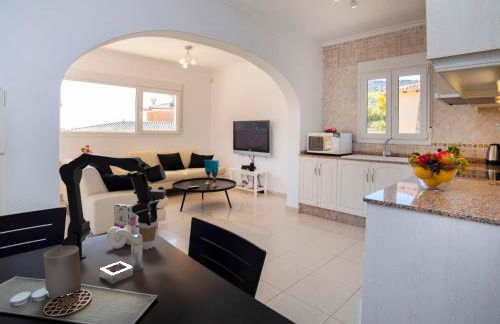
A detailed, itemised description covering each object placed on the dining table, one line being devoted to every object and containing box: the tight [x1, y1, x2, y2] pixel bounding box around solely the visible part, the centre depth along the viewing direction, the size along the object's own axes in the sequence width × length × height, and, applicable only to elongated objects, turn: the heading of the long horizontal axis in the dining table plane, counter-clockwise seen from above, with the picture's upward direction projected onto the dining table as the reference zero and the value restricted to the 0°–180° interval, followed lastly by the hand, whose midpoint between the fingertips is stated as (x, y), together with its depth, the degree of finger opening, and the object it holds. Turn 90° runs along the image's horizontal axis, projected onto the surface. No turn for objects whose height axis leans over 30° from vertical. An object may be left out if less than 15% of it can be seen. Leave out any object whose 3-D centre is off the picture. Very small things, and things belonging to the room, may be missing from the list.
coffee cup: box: [137, 213, 158, 250], centre depth 134 cm, size 8×8×15 cm
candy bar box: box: [113, 202, 137, 235], centre depth 147 cm, size 11×5×16 cm, turn 62°
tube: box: [130, 233, 143, 272], centre depth 112 cm, size 4×4×13 cm
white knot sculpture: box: [106, 225, 133, 250], centre depth 135 cm, size 11×12×9 cm
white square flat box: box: [99, 261, 134, 284], centre depth 106 cm, size 8×8×3 cm
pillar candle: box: [43, 245, 82, 299], centre depth 95 cm, size 10×10×15 cm
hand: (153, 222), depth 121 cm, fingers open, 9 cm apart
